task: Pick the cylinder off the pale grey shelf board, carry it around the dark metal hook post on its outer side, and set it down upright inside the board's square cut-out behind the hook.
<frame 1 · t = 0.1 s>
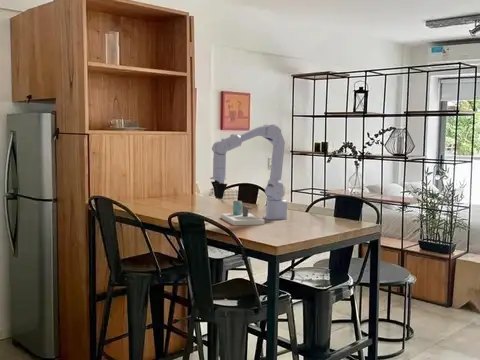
hand: (218, 197, 247), 10 cm above the table, fingers open, 7 cm apart
shelf board: (241, 221, 244), on the table
cylinder: (237, 214, 251), point 2 cm above the table, touching shelf board
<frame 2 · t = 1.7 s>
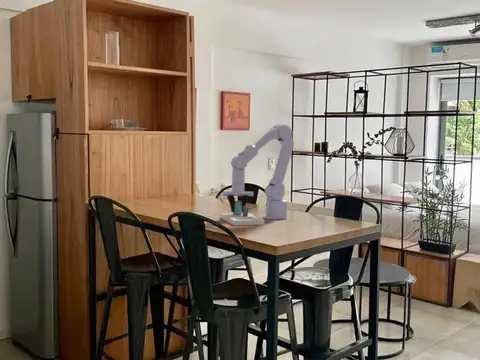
hand: (237, 211, 251), 3 cm above the table, fingers closed on cylinder, 4 cm apart
cylinder: (237, 214, 251), point 2 cm above the table, touching gripper, shelf board
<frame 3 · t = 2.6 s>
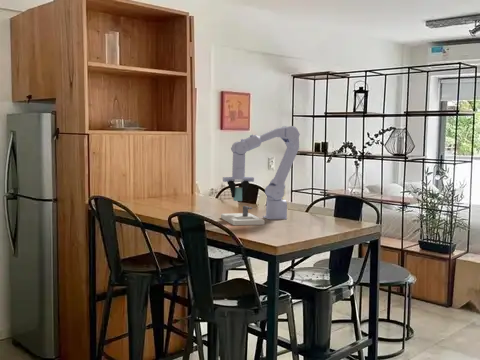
hand: (237, 197, 250), 10 cm above the table, fingers closed on cylinder, 4 cm apart
cylinder: (237, 200, 250), point 8 cm above the table, touching gripper
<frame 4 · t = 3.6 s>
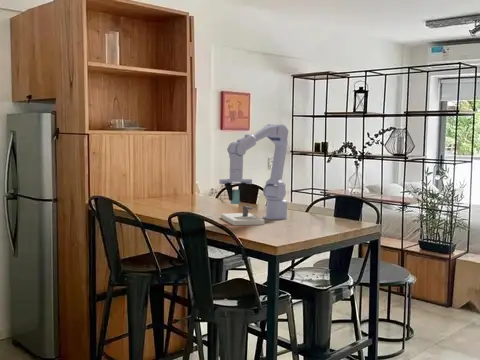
hand: (235, 200, 240), 10 cm above the table, fingers closed on cylinder, 4 cm apart
cylinder: (235, 203, 240), point 8 cm above the table, touching gripper
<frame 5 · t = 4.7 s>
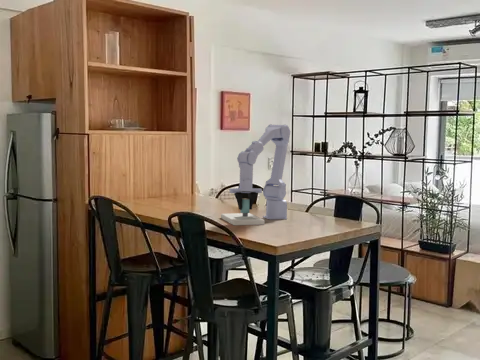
hand: (245, 209, 240), 6 cm above the table, fingers closed on cylinder, 4 cm apart
cylinder: (244, 212, 240), point 4 cm above the table, touching gripper
when the fingers open (3 cm above the table, at t = 5.7 s): cylinder drops 1 cm, resting in shelf board.
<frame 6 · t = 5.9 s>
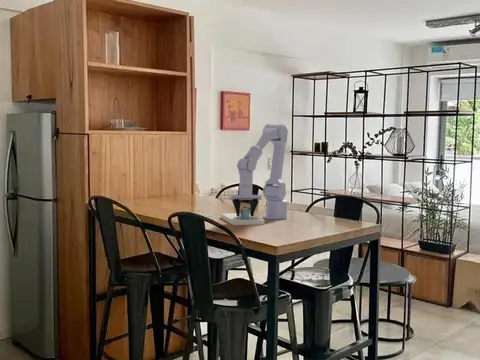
hand: (244, 216, 240), 3 cm above the table, fingers open, 6 cm apart
cylinder: (244, 222, 241), resting in shelf board
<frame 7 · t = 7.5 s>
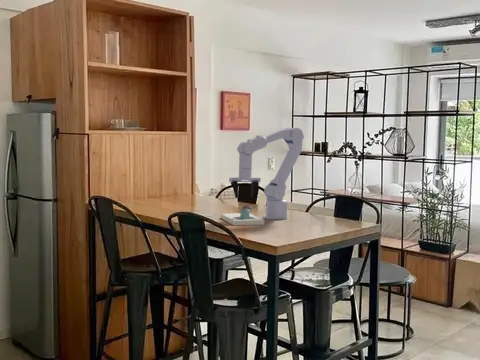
hand: (244, 197, 249), 10 cm above the table, fingers open, 7 cm apart
nothing on the table moved.
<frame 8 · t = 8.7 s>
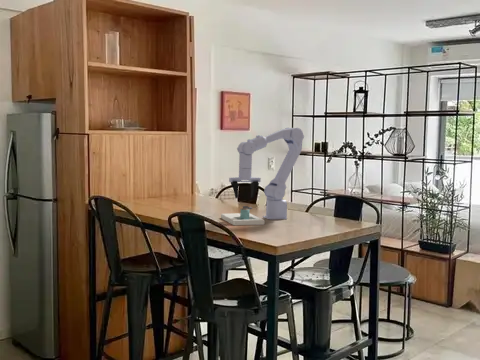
hand: (244, 197, 249), 10 cm above the table, fingers open, 7 cm apart
nothing on the table moved.
at the end: cylinder 0.1 cm from the target spot, resting in shelf board; cylinder tilted 0°; the gripper is holding nothing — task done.
